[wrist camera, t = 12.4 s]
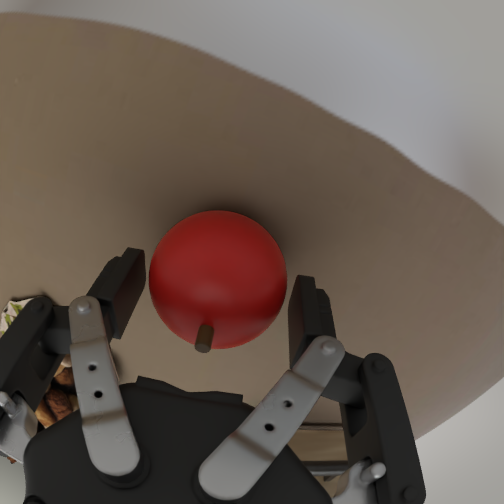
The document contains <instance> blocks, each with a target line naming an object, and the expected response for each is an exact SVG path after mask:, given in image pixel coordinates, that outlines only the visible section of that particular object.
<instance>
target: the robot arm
mask: <svg viewBox="0 0 504 504" xmlns="http://www.w3.org/2000/svg"><path fill="white" fill-rule="evenodd" d="M145 282H146V270H145V254H144V250H141V249H135V248H129V247H128V248H127V249H126V251H125V252H124V254H123V255H122V257H118V256H116V257H114V258H113V259H111V260H110V261H109V262H108V263H107V264H106V266H105V267H104V269H103V270H102V272H101V273H100V275H99V276H98V278H97V279H96V281H95V282H94V284H93V285H92V287H91V288H90V290H89V291H88V293H87V294H86V296H81V297H78V298H76V299H75V300H73V301H72V302H71V304H70V305H69V306H53V305H52V303H51V301H50V300H49V299H48V298H46V297H36V298H33V299H31V300H30V301H28V302H27V303H26V305H25V306H24V307H23V309H22V310H21V311H20V313H19V314H18V315H17V316H16V318H15V319H14V320H13V322H12V323H11V325H10V326H9V327H8V329H7V330H6V331H5V333H4V334H3V336H2V337H1V338H0V455H1V456H3V457H11V458H13V459H14V460H16V461H18V462H19V463H21V464H23V467H24V473H25V480H26V494H25V500H24V502H23V504H423V503H424V501H425V498H426V490H425V485H424V480H423V475H422V470H421V466H420V462H419V457H418V453H417V449H416V445H415V440H414V436H413V433H412V429H411V425H410V421H409V418H408V414H407V410H406V407H405V403H404V400H403V396H402V393H401V390H400V386H399V383H398V380H397V376H396V373H395V370H394V367H393V364H392V363H391V361H390V360H389V359H388V358H387V357H385V356H384V355H382V354H378V353H371V354H368V355H367V356H366V357H365V358H364V359H363V358H360V357H357V356H355V355H352V354H349V353H348V352H346V351H345V349H344V346H343V345H342V343H341V342H340V341H339V340H337V338H336V333H335V327H334V321H333V316H332V311H331V308H330V307H331V305H330V300H329V297H328V295H327V294H326V293H325V291H324V290H323V289H316V286H315V279H314V277H310V276H304V275H297V277H296V280H295V284H294V287H293V290H292V294H291V297H290V301H289V306H288V327H289V358H290V369H291V370H287V371H286V372H285V373H284V375H283V376H282V377H281V378H280V379H279V381H278V382H277V383H276V384H275V386H274V387H273V388H272V389H271V390H270V392H269V393H268V394H267V395H266V396H265V398H264V399H263V400H262V401H261V402H260V403H259V405H258V406H257V407H256V408H254V407H253V406H251V405H248V404H246V403H244V402H242V400H243V395H240V394H233V393H226V392H219V391H210V392H186V391H184V390H181V389H179V388H177V387H175V386H172V385H170V384H168V383H166V382H164V381H160V380H155V379H151V378H146V377H142V376H138V378H137V381H136V383H126V384H120V381H119V378H118V374H117V371H116V367H115V363H114V359H113V355H112V351H111V347H110V342H111V340H112V338H116V339H121V337H122V335H123V332H124V330H125V328H126V326H127V324H128V321H129V319H130V317H131V315H132V313H133V311H134V308H135V306H136V304H137V302H138V300H139V298H140V296H141V294H142V291H143V289H144V287H145ZM66 354H71V361H72V368H73V375H74V381H75V386H76V392H77V397H78V402H79V407H80V408H79V409H77V410H75V411H74V412H72V413H70V414H69V415H67V416H66V417H64V418H62V419H61V420H59V421H57V422H56V423H54V424H52V425H51V426H49V427H47V428H46V429H44V430H42V431H41V432H39V433H37V429H36V428H37V424H38V420H37V417H36V415H35V412H36V410H37V408H38V406H39V404H40V402H41V400H42V398H43V396H44V394H45V392H46V390H47V388H48V386H49V384H50V383H51V381H52V379H53V377H54V375H55V373H56V371H57V370H58V368H59V366H60V364H61V362H62V361H63V359H64V357H65V355H66ZM320 396H323V397H326V398H329V399H331V400H334V401H337V402H339V405H340V411H341V418H342V424H343V431H344V438H345V445H346V452H347V459H348V467H349V469H348V470H346V471H345V472H344V473H343V474H342V475H341V476H340V477H339V480H338V484H337V491H336V493H335V495H334V496H333V497H332V498H331V497H330V495H329V494H328V492H327V491H326V490H325V488H324V487H323V486H322V485H321V484H320V483H319V482H318V480H317V479H316V478H315V477H314V476H313V475H312V473H311V472H310V471H309V470H308V469H307V467H306V466H305V465H304V464H303V463H302V461H301V460H300V459H299V458H298V456H297V455H296V454H295V453H294V451H293V450H292V449H291V448H290V446H289V445H288V442H289V441H290V439H291V438H292V437H293V435H294V434H295V432H296V431H297V430H298V428H299V427H300V425H301V424H302V422H303V421H304V419H305V418H306V417H307V415H308V414H309V412H310V411H311V409H312V408H313V406H314V405H315V403H316V402H317V400H318V399H319V397H320ZM36 433H37V434H36Z"/></svg>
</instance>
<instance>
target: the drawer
mask: <svg viewBox="0 0 504 504" xmlns="http://www.w3.org/2000/svg"><path fill="white" fill-rule="evenodd" d="M288 445H289V446H290V448H291V449H292V450H293V451H294V453H295V454H296V455H297V456H298V458H299V459H300V460H301V461H302V463H303V464H304V465H305V466H306V467H307V469H308V470H309V471H310V472H311V473H312V475H313V476H314V477H315V478H316V479H317V480H318V482H319V483H320V484H321V485H322V486H323V487H324V488H325V490H326V491H327V492H328V494H329V495H330V497H331V498H332V497H333V496H334V495H335V493H336V491H337V484H338V480H339V477H340V476H341V475H342V474H343V473H344V472H345V471H346V470H348V469H349V467H348V459H347V452H346V445H345V438H344V431H330V430H297V431H296V432H295V434H294V435H293V437H292V438H291V439H290V441H289V442H288Z"/></svg>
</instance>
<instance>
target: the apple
mask: <svg viewBox="0 0 504 504" xmlns="http://www.w3.org/2000/svg"><path fill="white" fill-rule="evenodd" d="M149 289H150V294H151V299H152V302H153V305H154V307H155V309H156V311H157V313H158V315H159V316H160V318H161V319H162V321H163V322H164V323H165V324H166V326H167V327H168V328H169V329H170V330H171V331H172V332H173V333H175V334H176V335H177V336H179V337H180V338H182V339H184V340H185V341H187V342H189V343H191V344H194V345H195V349H196V350H197V351H199V352H202V353H207V352H209V351H210V350H211V349H225V348H232V347H236V346H240V345H243V344H245V343H247V342H249V341H251V340H253V339H255V338H256V337H258V336H259V335H260V334H262V333H263V332H264V331H265V330H266V329H267V328H268V327H269V326H270V325H271V324H272V322H273V321H274V320H275V319H276V317H277V315H278V313H279V312H280V310H281V308H282V305H283V302H284V299H285V295H286V290H287V271H286V265H285V261H284V258H283V255H282V253H281V250H280V248H279V246H278V244H277V243H276V241H275V240H274V239H273V237H272V236H271V235H270V234H269V233H268V232H267V230H266V229H265V228H263V227H262V226H261V225H260V224H258V223H257V222H255V221H254V220H252V219H250V218H248V217H246V216H244V215H241V214H238V213H235V212H230V211H221V210H215V211H205V212H200V213H197V214H194V215H192V216H190V217H187V218H185V219H183V220H182V221H180V222H178V223H177V224H176V225H175V226H174V227H172V228H171V229H170V230H169V231H168V232H167V233H166V234H165V235H164V237H163V238H162V239H161V241H160V242H159V244H158V246H157V247H156V250H155V252H154V254H153V257H152V260H151V265H150V270H149Z"/></svg>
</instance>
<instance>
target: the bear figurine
mask: <svg viewBox="0 0 504 504" xmlns="http://www.w3.org/2000/svg"><path fill="white" fill-rule="evenodd" d="M37 297H42V296H37ZM31 299H33V298H31ZM31 299H27V300H23V301H19V302H13V301H11V300H10V301H9V303H8V304H7V306H6V307H5V308H4V310H3V311H5V309H6V308H7V307H8V311H7V312H6V313H3V312H2V319H1V325H0V330H1V332H2V334H4V333H5V331H6V330H7V329H8V327H9V326H10V325H11V323H12V322H13V320H14V319H15V318H16V316H17V315H18V314H19V313H20V311H21V310H22V309H23V307H24V306H25V305H26V303H27V302H28V301H30V300H31ZM79 408H80V407H79V402H78V397H77V392H76V386H75V381H74V375H73V368H72V361H71V354H66V355H65V357H64V359H63V361H62V362H61V364H60V366H59V368H58V370H57V371H56V373H55V375H54V377H53V379H52V381H51V383H50V384H49V386H48V388H47V390H46V392H45V394H44V396H43V398H42V400H41V402H40V404H39V406H38V408H37V410H36V412H35V415H36V417H37V420H38V424H37V428H36V429H37V433H39V432H41V431H42V430H44V429H46V428H47V427H49V426H51V425H52V424H54V423H56V422H57V421H59V420H61V419H62V418H64V417H66V416H67V415H69V414H70V413H72V412H73V411H75V410H77V409H79ZM37 433H36V434H37ZM7 458H8V459H9V460H10V461H11V464H13V463H14V462H16V460H14V459H13V458H11V457H7Z"/></svg>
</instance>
